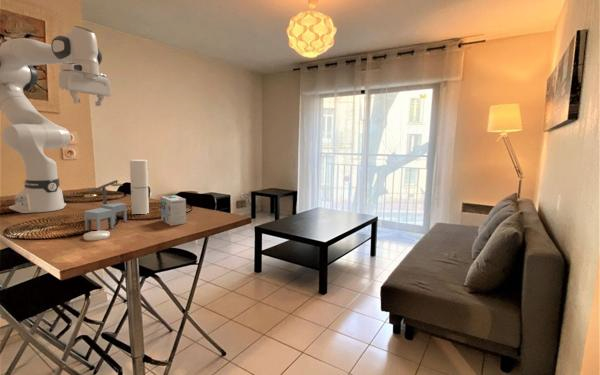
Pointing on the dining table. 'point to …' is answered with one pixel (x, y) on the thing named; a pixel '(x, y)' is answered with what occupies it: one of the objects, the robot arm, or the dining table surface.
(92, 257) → the dining table surface
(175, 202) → the light bulb box
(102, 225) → the block
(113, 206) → the cover high
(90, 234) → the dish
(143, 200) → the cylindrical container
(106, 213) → the cover low
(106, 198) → the balance
